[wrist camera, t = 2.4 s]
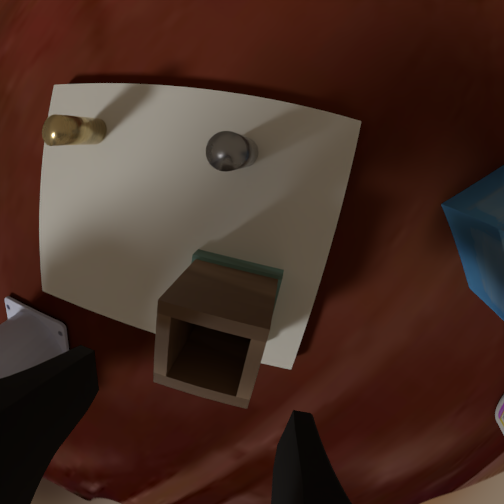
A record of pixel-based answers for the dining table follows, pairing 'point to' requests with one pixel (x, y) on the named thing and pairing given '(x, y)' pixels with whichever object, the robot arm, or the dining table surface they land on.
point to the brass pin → (73, 130)
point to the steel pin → (231, 151)
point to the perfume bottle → (481, 236)
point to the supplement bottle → (500, 414)
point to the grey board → (189, 199)
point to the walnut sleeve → (215, 327)
